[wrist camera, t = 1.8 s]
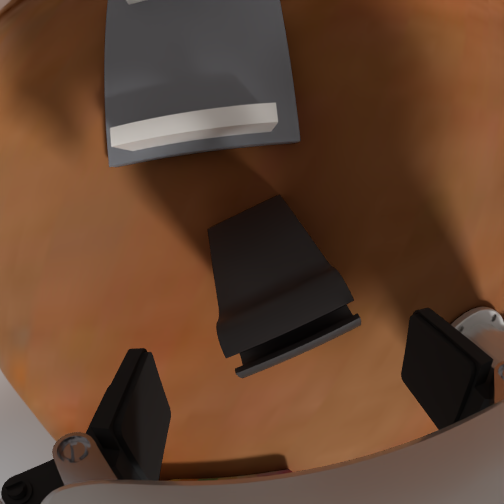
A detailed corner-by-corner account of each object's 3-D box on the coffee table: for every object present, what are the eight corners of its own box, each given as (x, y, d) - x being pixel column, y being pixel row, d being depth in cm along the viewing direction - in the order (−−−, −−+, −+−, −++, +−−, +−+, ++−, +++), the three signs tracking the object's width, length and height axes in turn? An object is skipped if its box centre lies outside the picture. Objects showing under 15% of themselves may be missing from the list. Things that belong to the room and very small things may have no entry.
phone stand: (323, 294, 25) (380, 379, 13) (257, 324, 26) (271, 427, 14) (279, 193, 23) (320, 211, 11) (207, 227, 23) (177, 278, 12)
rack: (271, -23, 18) (278, -59, 13) (296, 143, 22) (313, 133, 17) (114, 2, 18) (91, -27, 13) (116, 167, 22) (84, 165, 17)
